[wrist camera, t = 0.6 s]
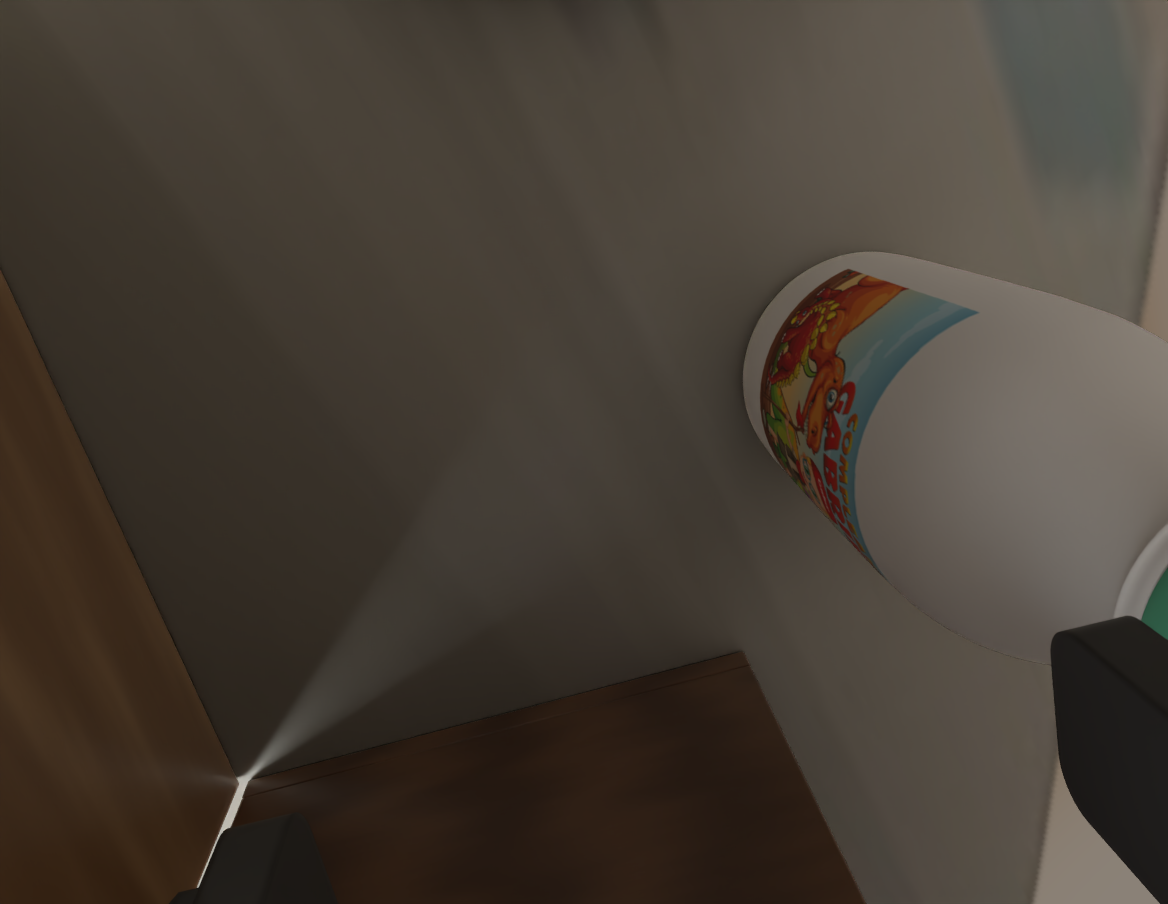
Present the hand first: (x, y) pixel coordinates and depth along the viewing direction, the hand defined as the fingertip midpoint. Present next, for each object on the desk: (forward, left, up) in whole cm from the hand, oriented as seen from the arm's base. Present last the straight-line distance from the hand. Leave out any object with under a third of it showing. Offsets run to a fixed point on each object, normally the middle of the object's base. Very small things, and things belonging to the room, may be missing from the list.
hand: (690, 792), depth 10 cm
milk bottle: (+3, +9, -22) cm, 24 cm away
